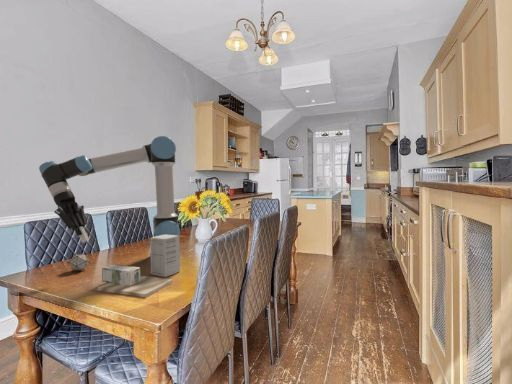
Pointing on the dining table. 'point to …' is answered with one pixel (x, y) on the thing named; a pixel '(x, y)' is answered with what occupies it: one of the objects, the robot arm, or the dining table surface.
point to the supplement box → (165, 255)
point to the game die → (78, 262)
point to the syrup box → (121, 274)
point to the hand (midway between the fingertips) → (85, 241)
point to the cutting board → (137, 287)
